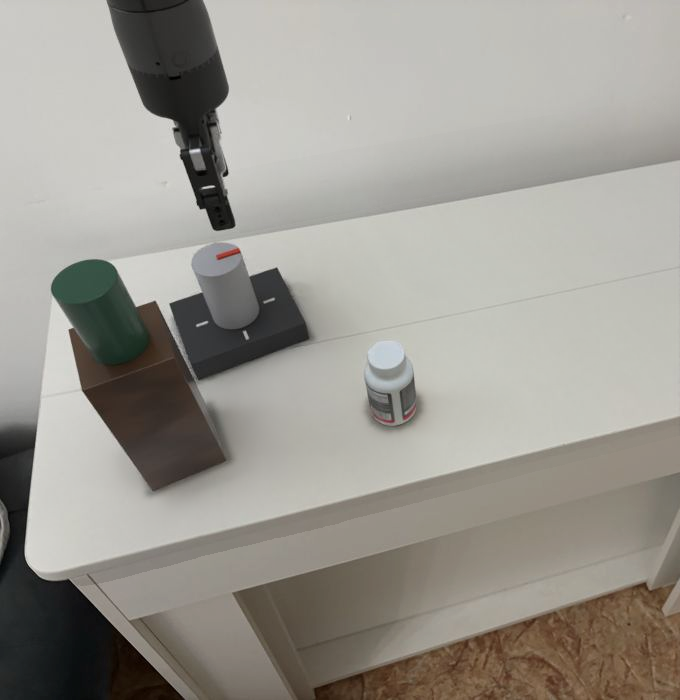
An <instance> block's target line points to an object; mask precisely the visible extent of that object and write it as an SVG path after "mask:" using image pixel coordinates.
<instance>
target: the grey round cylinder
mask: <svg viewBox="0 0 680 700" xmlns="http://www.w3.org/2000/svg"><path fill="white" fill-rule="evenodd" d="M190 262H191V265H190V266H191V268H192V271H193V274H194V277H195V278H196V281H197V283H198V286H199V288H200V290H201V293H203V295H204V298H205V300H206V303H207V305H208V308H209V310H210V312H211V315H212V317H213V320H214V322H215V323H216V324H217V325H218V326H220V327H222V328H224V329H239V328H243V327H245V326H247V325H249V324H250V323H252V322H253V321H254V320H255V319H256V318H257V316H258V314H259V305H258V302H257V299H256V296H255V293H254V290H253V287H252V284H251V281H250V278H249V276H250V275H249V271H248V269H247V265H246V263H245V259H244V255H243V253H242V251H241V249H240V247H238V246H237V245H235V244H233V243H230V242H221V241H220V242H214V243H209V244H207V245H205V246H202V247H201V248H200V249H198V250H197V251H196V252H195V253H194V254H193V256H192V258H191V261H190Z"/></svg>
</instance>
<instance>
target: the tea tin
mask: <svg viewBox="0 0 680 700" xmlns="http://www.w3.org/2000/svg"><path fill="white" fill-rule="evenodd" d="M50 293H51V296H52V297H53V298H54V300H55V302H56V303H57V305H58V306H59V308H60V309H61V311H62V312H63V314H64V316H65V317H66V318H67V320H68V321H69V323H70V325H71V327H72V328H74V329H75V331H76V332H77V334H78V335H79V337H80V339H81V340H82V342H83V343H84V345H85V346H86V348H87V349H88V351H89V353H90V354H91V356H92V357H93V358H94V360H96V361H97V362H99V363H101V364H105V365H119V364H123V363H126V362H129V361H131V360H133V359H135V358H136V357H138V356H139V355H140V354H141V353H142V352H143V351H144V350H145V349H146V348H147V346H148V344H149V341H150V333H149V331H148V329H147V327H146V325H145V323H144V321H143V319H142V317H141V315H140V313H139V311H138V310H137V308H136V307H137V306H136V304H135V302H134V300H133V298H132V296H131V294H130V292H129V291H128V288H127V287H126V284H125V283H124V281H123V279H122V277H121V275H120V274H119V271H118V270H117V268H116V267H115V265H114V264H113V263H111V262H110V261H108V260H104V259H99V258H91V259H84V260H80V261H76V262H74V263H72V264H70V265H68V266H67V267H64V268H63V269H62V270H61V271H59V273H57V275H56V276H54V278H53V279H52V282H51V285H50Z"/></svg>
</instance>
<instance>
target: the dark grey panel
mask: <svg viewBox="0 0 680 700" xmlns="http://www.w3.org/2000/svg"><path fill="white" fill-rule="evenodd" d="M249 278H250V281H251V284H252V287H253V290H254V293H255V296H256V299H257V302H258V305H259V314H258V316H257V318H256V319H255V320H254V321H253V322H252V323H250V324H249V325H247V326H245V327H243V328H239V329H224V328H222V327H220V326H218V325H217V324H216V323H215V322H214V320H213V317H212V315H211V312H210V310H209V308H208V305H207V303H206V300H205V298H204V295H203V293H202V292H199V293H195V294H193V295H190V296H187V297H184V298H181V299H178V300H175V301H172V302H169V303H168V305H169V308H170V310H171V313H172V316H173V319H174V322H175V325H176V327H177V330H178V333H179V336H180V338H181V342H182V345H183V347H184V350H185V353H186V355H187V358H188V361H189V364H190V366H191V369H192V371H193V372H194V375H195V377H196V379H197V380H198V381H199V380H201V379H204V378H207V377H210V376H213V375H216V374H218V373H221V372H223V371H225V370H229V369H231V368H234V367H237V366H239V365H242V364H245V363H248V362H250V361H253V360H256V359H258V358H261V357H263V356H266V355H270V354H271V353H275V352H277V351H280V350H283V349H285V348H288V347H290V346H293V345H296V344H298V343H302V342H304V341H306V340H309V339H310V334H309V331H308V327H307V323H306V321H305V319H304V317H303V315H302V313H301V311H300V309H299V306H298V305H297V303H296V301H295V299H294V297H293V295H292V293H291V292H290V289H289V288H288V286H287V284H286V282H285V280H284V277H283V276H282V274H281V271H280V270H279V268H278V267H277V266H276V267H273V268H271V269H267V270H265V271H262V272H258V273H255V274H253V275H249Z"/></svg>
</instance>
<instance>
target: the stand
mask: <svg viewBox="0 0 680 700" xmlns="http://www.w3.org/2000/svg"><path fill="white" fill-rule="evenodd" d="M136 308H137V310H138V311H139V313H140V315H141V317H142V319H143V321H144V323H145V325H146V327H147V329H148V331H149V333H150V341H149V344H148V346H147V348H146V349H145V350H144V351H143V352H142V353H141V354H140V355H139V356H138V357H136V358H135V359H133V360H131V361H129V362H126V363H123V364H119V365H105V364H101V363H99V362H97V361H96V360H94V358H93V357H92V356H91V354H90V353H89V351H88V349H87V348H86V346H85V345H84V343H83V342H82V340H81V339H80V337H79V335H78V334H77V332H76V331H75V329H74V328H73V327H72V328H69V329H68V330H67V331H68V336H69V339H70V344H71V348H72V353H73V357H74V358H73V359H74V362H75V366H76V371H77V375H78V380H79V385H80V389H81V392H82V393H83V395H84V396H85V397H86V399H87V400H88V401H89V404H90V405H91V406H92V407H93V409H94V410H95V412H96V413H97V415H98V416H99V417H100V419H101V420H102V421H103V423H104V425H105V426H106V428H107V429H108V430H109V431H110V433H111V435H112V436H113V437H114V438H115V440H116V441H117V443H118V444H119V446H120V448H121V449H122V450H123V451H124V453H125V455H126V456H127V457H128V458H129V460H130V461H131V463H132V464H133V466H134V467H135V468H136V470H137V472H138V473H139V474H140V476H141V477H142V478H143V480H144V482H145V483H146V485H147V486H148V487H149V488H150V490H151V491H152V492H154V491H157V490H159V489H161V488H165V487H166V486H168V485H171V484H173V483H176V482H178V481H181V480H183V479H186V478H188V477H190V476H193V475H196V474H198V473H200V472H203V471H205V470H208V469H210V468H212V467H215V466H217V465H220V464H223V463H224V462H227V457H226V455H225V451H224V448H223V446H222V443H221V441H220V437H219V435H218V431H217V429H216V426H215V423H214V421H213V417H212V415H211V412H210V410H209V409H210V408H209V407H208V405H207V403H206V401H205V399H204V397H203V395H202V393H201V391H200V389H199V387H198V385H197V383H196V380H195V378H194V376H193V375H192V372H191V370H190V368H189V366H188V364H187V362H186V359H185V357H184V355H183V354H182V352H181V349H180V348H179V345H178V343H177V342H176V340H175V337H174V335H173V333H172V331H171V329H170V327H169V325H168V323H167V321H166V319H165V317H164V315H163V312H162V311H161V308H160V306H159V304H158V302H157V301H156V300H153V301H150V302H147V303H143V304H141V305H138V306H136Z"/></svg>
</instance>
